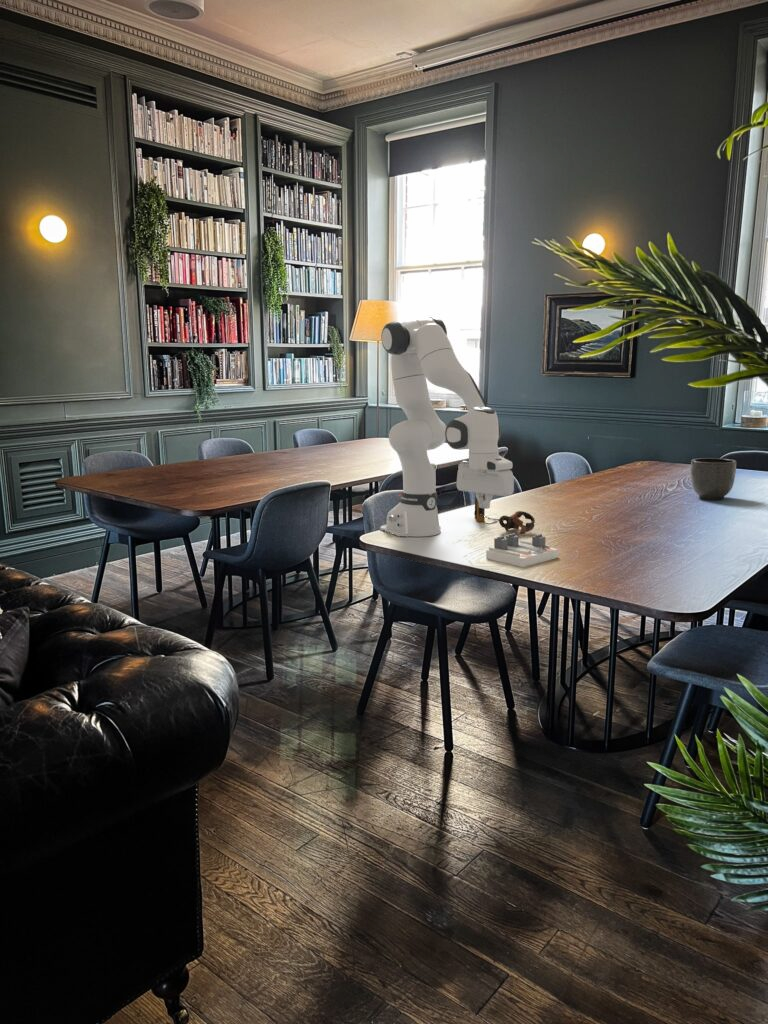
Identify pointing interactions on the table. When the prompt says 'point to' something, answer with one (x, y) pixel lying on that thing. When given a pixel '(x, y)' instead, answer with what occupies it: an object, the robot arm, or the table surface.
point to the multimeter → (481, 512)
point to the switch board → (522, 554)
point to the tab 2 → (538, 541)
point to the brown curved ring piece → (517, 522)
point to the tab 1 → (500, 543)
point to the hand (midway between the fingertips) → (484, 508)
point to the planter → (712, 477)
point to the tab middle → (512, 540)
